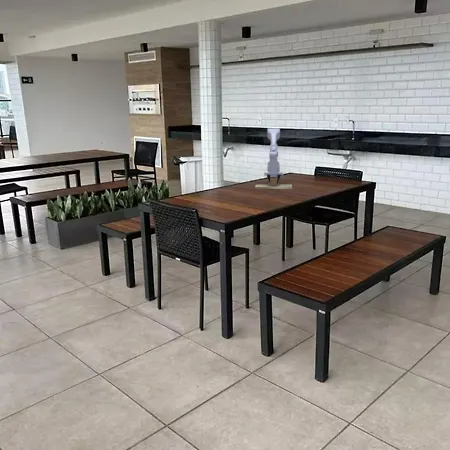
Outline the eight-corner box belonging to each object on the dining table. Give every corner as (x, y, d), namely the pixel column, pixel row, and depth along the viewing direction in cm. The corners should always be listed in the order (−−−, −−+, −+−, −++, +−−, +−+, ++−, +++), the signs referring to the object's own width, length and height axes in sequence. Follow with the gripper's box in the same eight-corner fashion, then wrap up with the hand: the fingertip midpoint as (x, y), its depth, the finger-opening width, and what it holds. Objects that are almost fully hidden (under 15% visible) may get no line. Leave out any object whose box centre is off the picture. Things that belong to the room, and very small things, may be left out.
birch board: (255, 186, 374) (255, 184, 374) (291, 186, 371) (291, 184, 371) (255, 189, 364) (255, 187, 364) (291, 188, 362) (292, 186, 361)
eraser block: (270, 184, 371) (270, 176, 369) (276, 184, 370) (276, 176, 369) (270, 185, 364) (270, 178, 363) (276, 185, 364) (276, 178, 362)
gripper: (264, 167, 361) (264, 185, 364) (283, 167, 359) (283, 185, 363) (264, 166, 367) (264, 183, 371) (283, 166, 366) (283, 183, 369)
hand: (273, 184), depth 367 cm, fingers closed on eraser block, 5 cm apart
